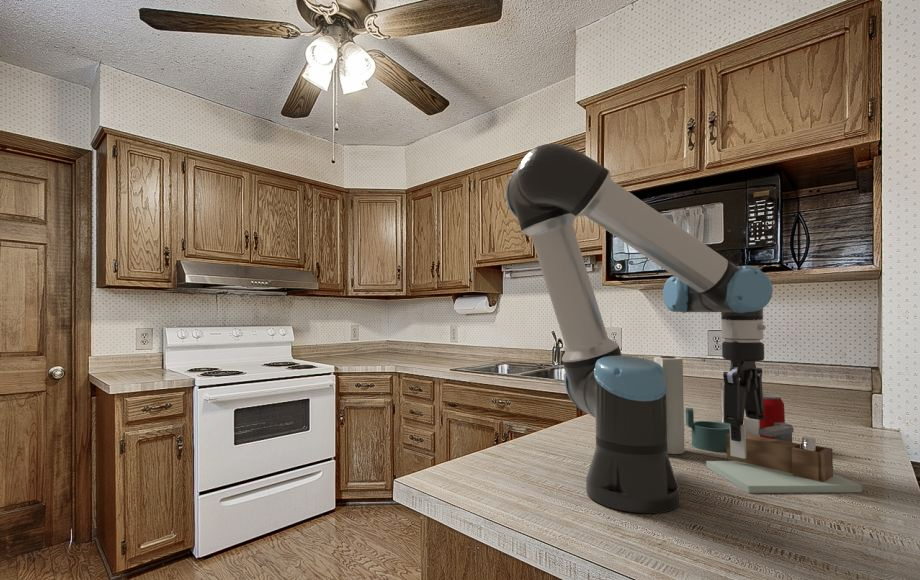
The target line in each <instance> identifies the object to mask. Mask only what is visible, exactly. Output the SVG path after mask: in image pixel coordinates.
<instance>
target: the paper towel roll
mask: <svg viewBox="0 0 920 580" xmlns="http://www.w3.org/2000/svg"><path fill="white" fill-rule="evenodd" d="M653 361H654V362H656V363H658V364H660V365H661V366H662V368H663V369H664V371H665V378H666V383H667V392H666V406H667V454H669V455H681V454H683V453H685V446H686V445H685V414H684V413H685V411H684V410H685V409H684V369H683V367H684V366H683V365H684V363H683V357H679V356H677V357H676V356H671V355H665V356H664V355H661V356H654V357H653Z"/></svg>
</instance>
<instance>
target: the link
mask: <svg viewBox="0 0 920 580" xmlns="http://www.w3.org/2000/svg"><path fill="white" fill-rule="evenodd" d="M726 441H727V452H726V459H727V460H729V461H739V462H743V463H748V464H752V465H756V466H761V467H765V468H770V469H774V470H779V471H783V472H787V473H792V474H793V476H798V477H802V478H807V479H811V480H815V481H820V482H825V481H827V480H828V479H829V478H831V477H832V476H833V473H834V465H833V464H834V463H833V461H834V459H833V448H831V447H826V446H821V445H817V444H815V446H816V452H815V451H810V450H804V449H802V442H801V443H796V442H793V441H792V442H787V441H781V440H776V439H770V438H765V437H759V436H754V435H748V434H746V459H743V458H739V457H734V456H730V433H729V434H726Z"/></svg>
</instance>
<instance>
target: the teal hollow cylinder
mask: <svg viewBox="0 0 920 580" xmlns="http://www.w3.org/2000/svg"><path fill="white" fill-rule="evenodd" d="M733 417H734V416H733ZM685 425H686V426H687V427H688V428H691V445H692V447H694V448H696V449H698V450H702V451H707V452H715V453H727V441H726V434H729V433H730V423H727V424H724V423H719V422H716V421H711V420H696V421H695V420H694V408H693V407H686V408H685Z"/></svg>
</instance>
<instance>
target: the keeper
mask: <svg viewBox="0 0 920 580" xmlns="http://www.w3.org/2000/svg"><path fill="white" fill-rule="evenodd" d="M794 432H795V431H794V426H792V424H790V423H787V422H785V423H784V422H776V423H774V426H772V427H766V428H761V429H759V434H760V435H765V436H769V437H774V439H776V440H781V441H787V442H792V443H793V433H794Z"/></svg>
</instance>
